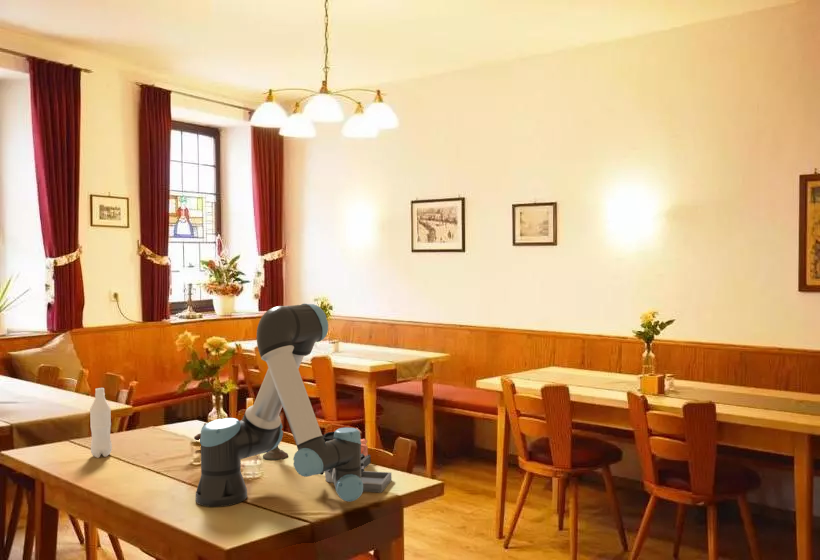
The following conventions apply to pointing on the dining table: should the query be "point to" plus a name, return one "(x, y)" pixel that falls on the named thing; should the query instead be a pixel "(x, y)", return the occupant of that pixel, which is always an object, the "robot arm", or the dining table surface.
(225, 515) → the dining table surface
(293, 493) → the dining table surface
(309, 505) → the dining table surface
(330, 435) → the coffee cup
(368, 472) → the tray
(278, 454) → the candlestick holder
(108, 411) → the water bottle
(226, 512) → the dining table surface
